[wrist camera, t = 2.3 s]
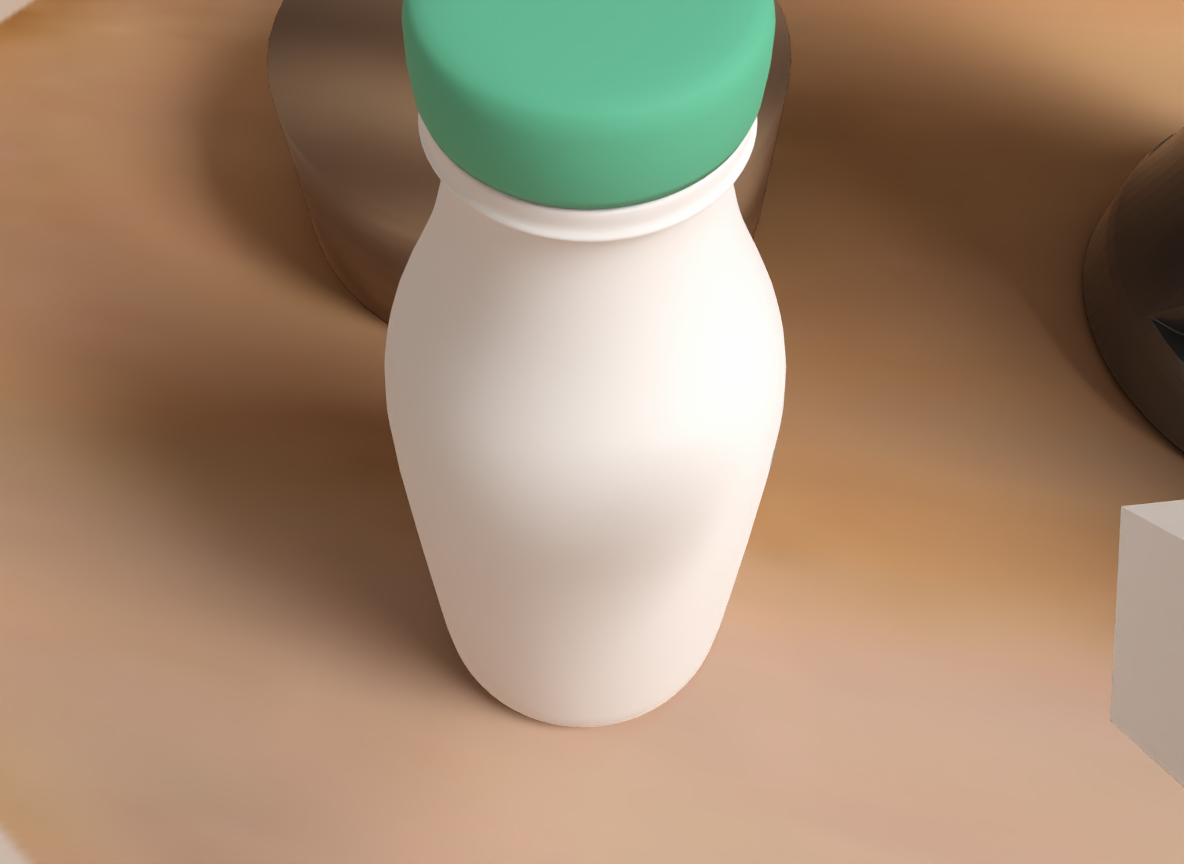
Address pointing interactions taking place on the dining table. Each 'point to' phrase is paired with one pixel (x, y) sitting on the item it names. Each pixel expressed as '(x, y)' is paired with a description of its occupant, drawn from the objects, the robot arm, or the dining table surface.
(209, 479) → the dining table surface
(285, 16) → the walnut stand
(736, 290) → the milk bottle
